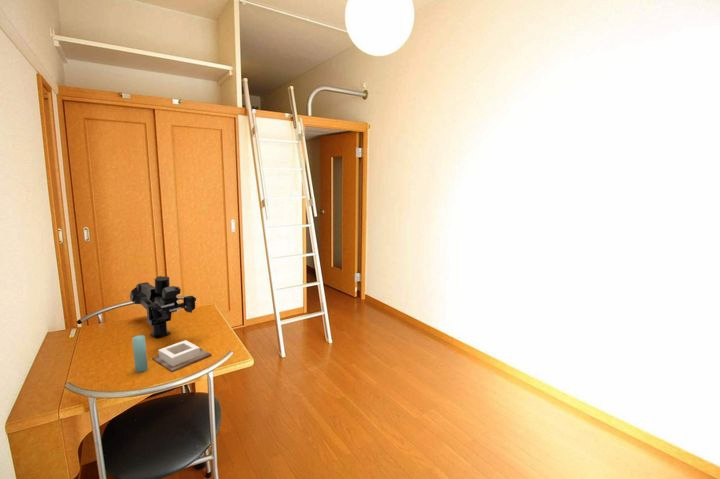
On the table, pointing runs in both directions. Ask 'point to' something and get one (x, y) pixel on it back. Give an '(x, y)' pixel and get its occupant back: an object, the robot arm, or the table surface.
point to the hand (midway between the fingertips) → (180, 314)
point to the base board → (202, 356)
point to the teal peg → (140, 353)
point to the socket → (179, 353)
